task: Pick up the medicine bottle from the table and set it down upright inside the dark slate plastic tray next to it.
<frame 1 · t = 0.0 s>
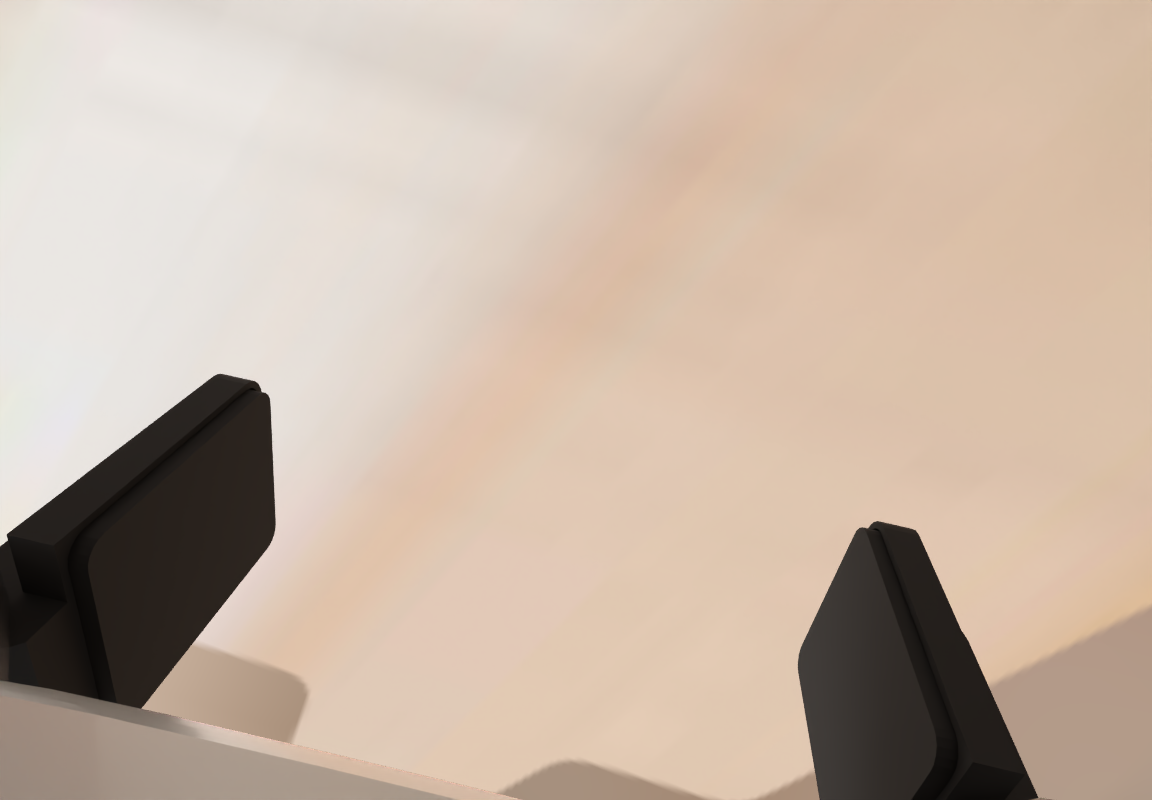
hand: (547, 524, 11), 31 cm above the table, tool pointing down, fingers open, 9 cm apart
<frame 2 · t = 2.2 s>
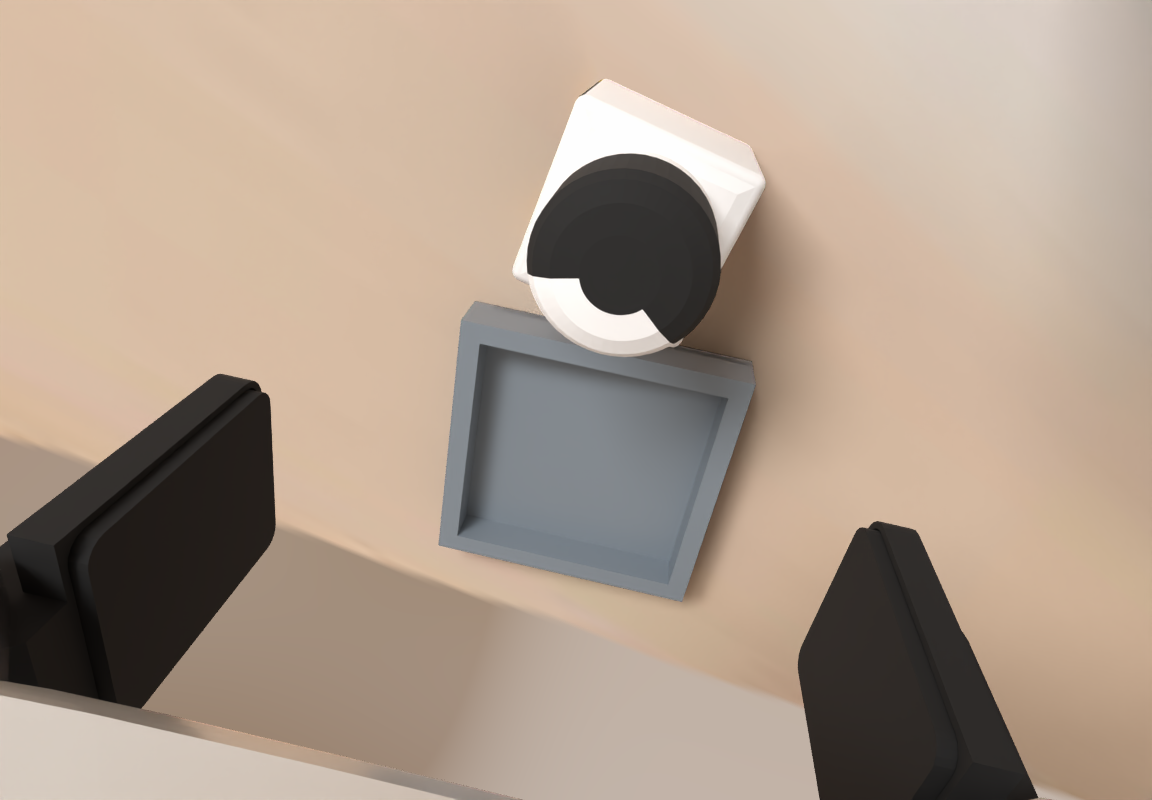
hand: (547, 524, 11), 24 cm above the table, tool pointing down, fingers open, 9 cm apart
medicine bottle: (643, 188, 32), on the table
tray: (587, 447, 39), on the table
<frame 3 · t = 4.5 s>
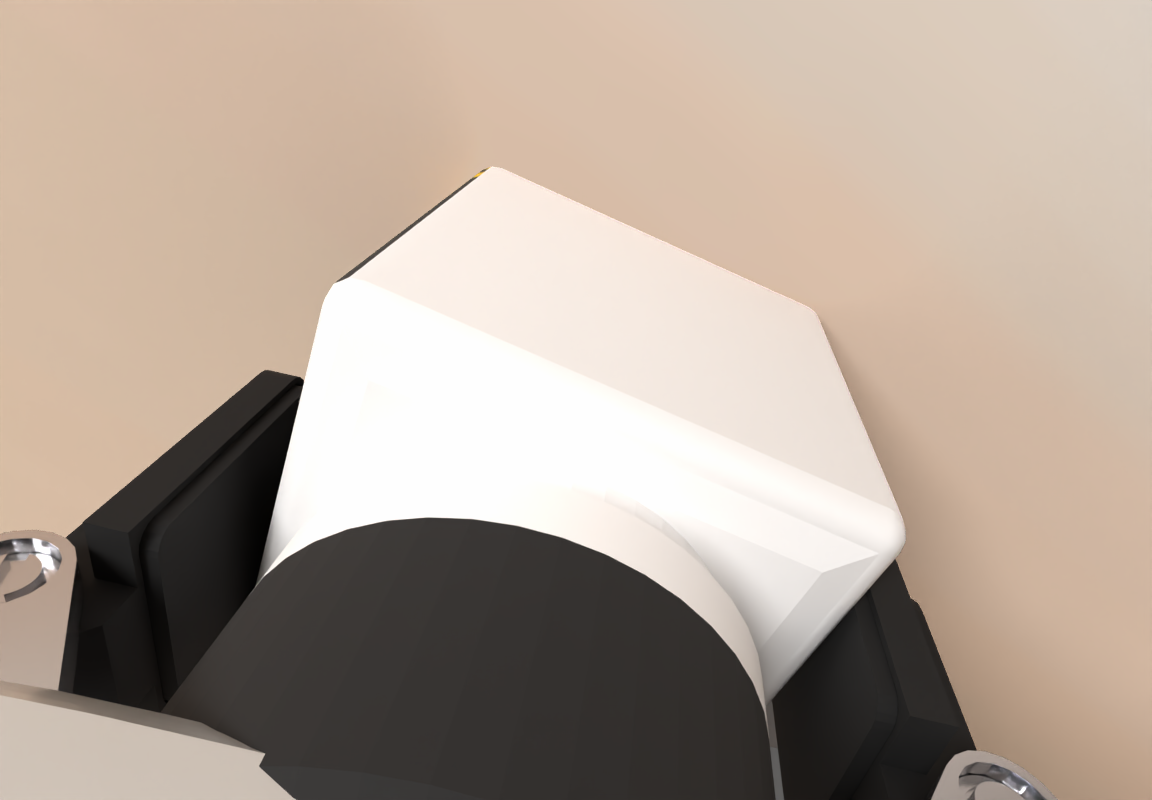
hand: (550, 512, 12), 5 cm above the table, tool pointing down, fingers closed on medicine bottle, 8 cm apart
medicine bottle: (588, 377, 16), on the table, touching gripper
tray: (508, 768, 22), on the table
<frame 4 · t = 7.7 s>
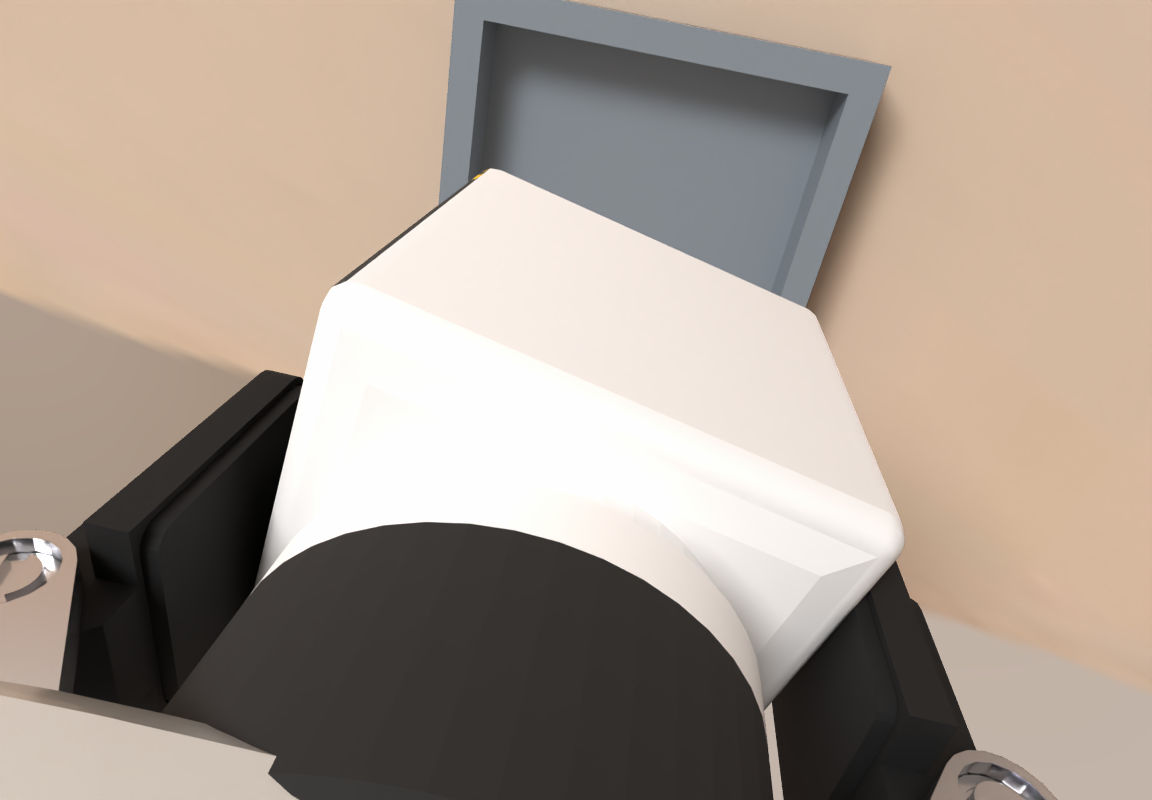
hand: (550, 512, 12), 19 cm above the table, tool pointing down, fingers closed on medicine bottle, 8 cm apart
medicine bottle: (587, 378, 16), point 14 cm above the table, touching gripper
tray: (630, 219, 28), on the table
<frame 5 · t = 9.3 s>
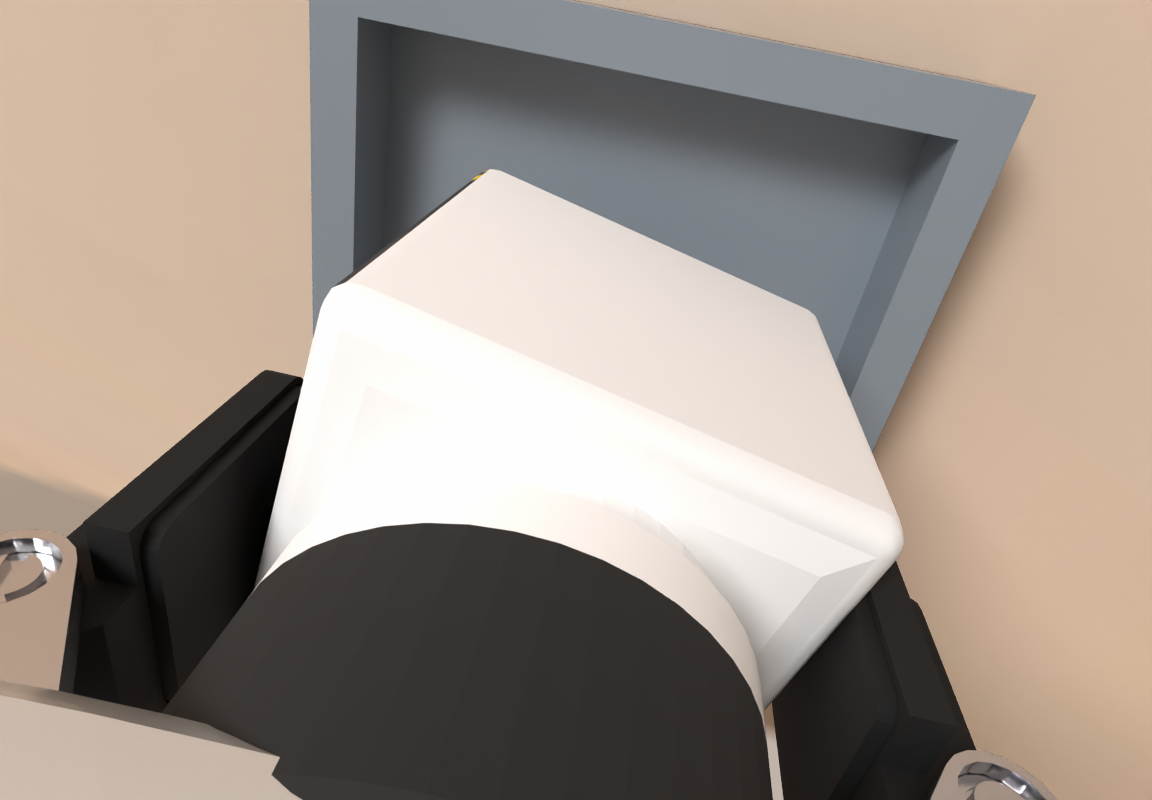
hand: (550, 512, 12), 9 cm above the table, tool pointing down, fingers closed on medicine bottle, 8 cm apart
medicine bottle: (587, 379, 16), point 4 cm above the table, touching gripper
tray: (607, 311, 19), on the table
when the fingers open (6 cm above the table, at t = 10.9 s): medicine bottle drops 1 cm, resting on tray.
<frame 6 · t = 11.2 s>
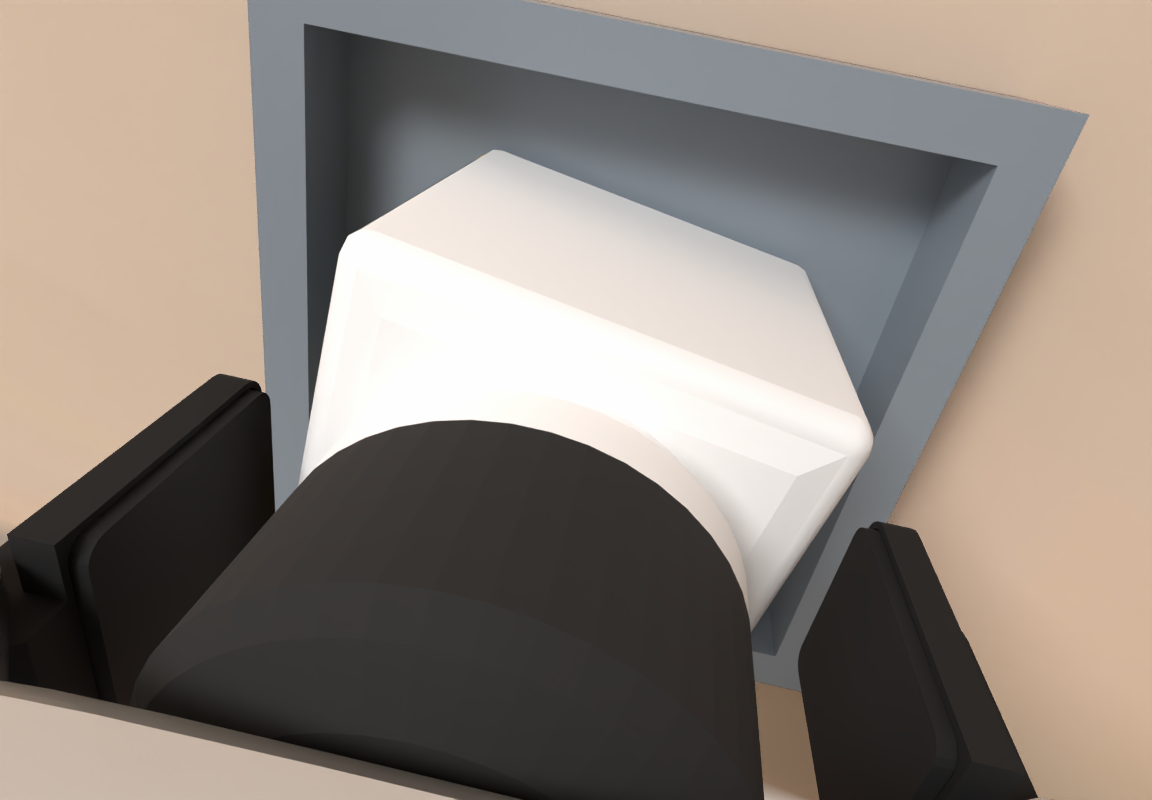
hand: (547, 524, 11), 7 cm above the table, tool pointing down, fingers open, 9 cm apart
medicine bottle: (595, 347, 17), resting on tray
tray: (595, 348, 17), on the table
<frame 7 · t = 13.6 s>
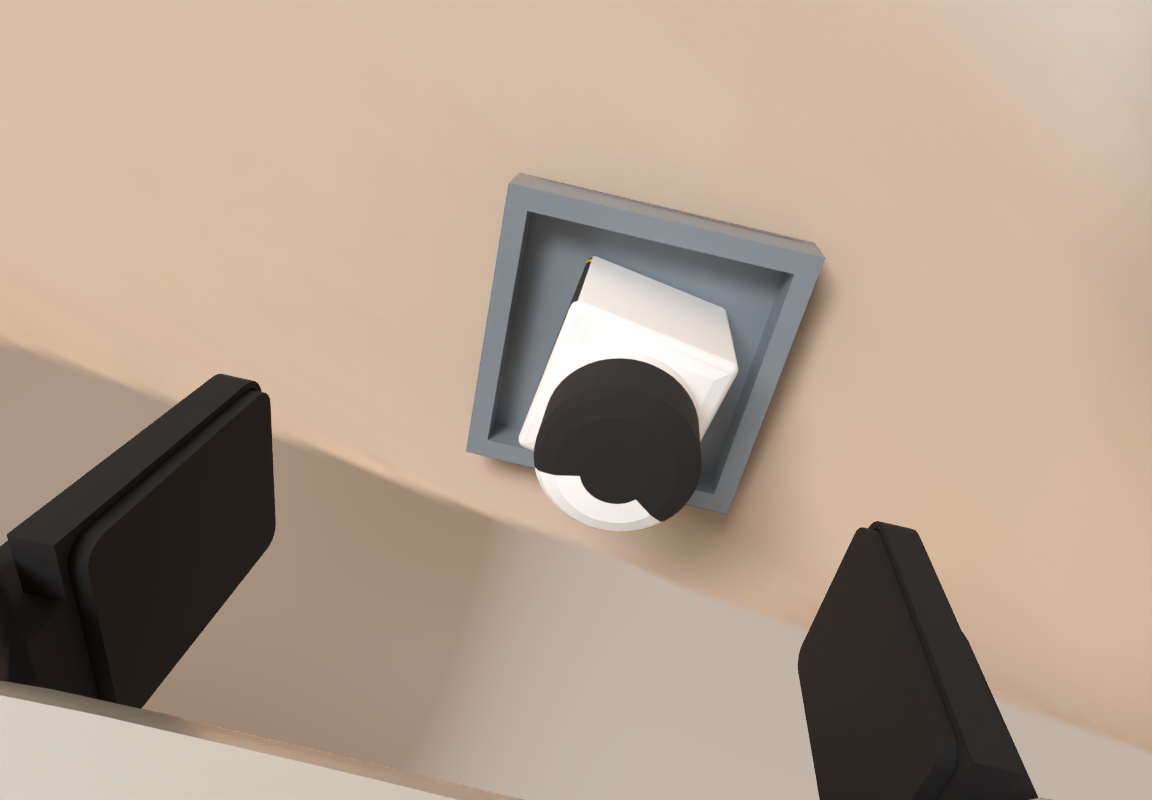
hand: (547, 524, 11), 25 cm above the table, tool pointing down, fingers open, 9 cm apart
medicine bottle: (631, 342, 36), resting on tray
tray: (630, 344, 36), on the table
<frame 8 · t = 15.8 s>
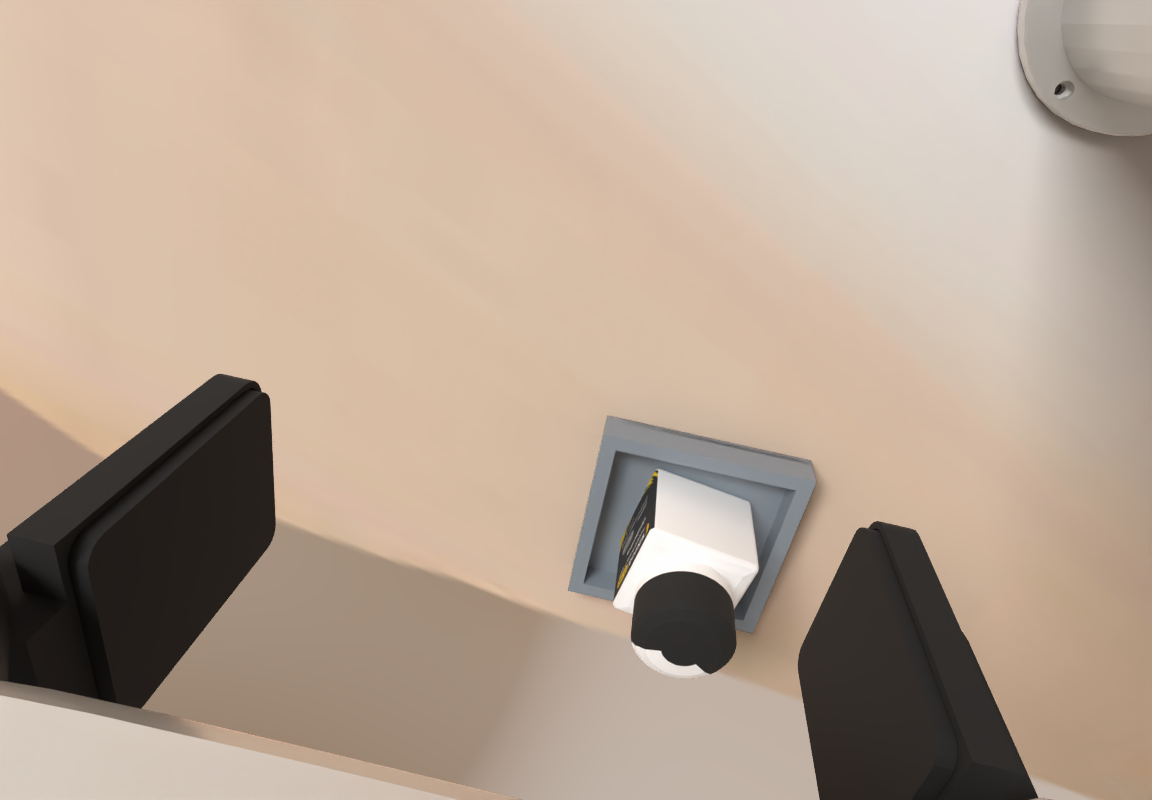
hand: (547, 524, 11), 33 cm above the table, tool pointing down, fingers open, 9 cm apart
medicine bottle: (684, 518, 51), resting on tray
tray: (683, 518, 52), on the table
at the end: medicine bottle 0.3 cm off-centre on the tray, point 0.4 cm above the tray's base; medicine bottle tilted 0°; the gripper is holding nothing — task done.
